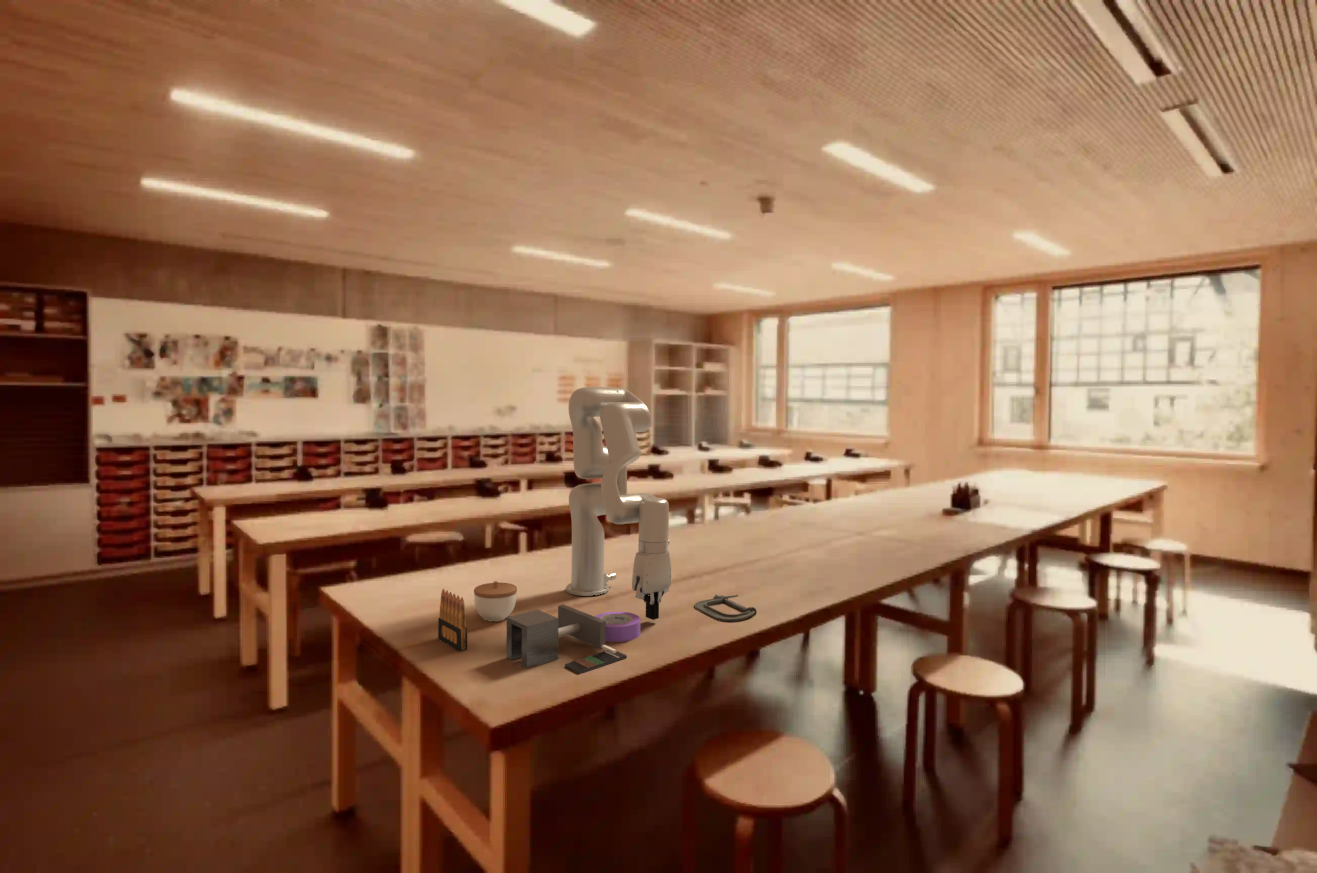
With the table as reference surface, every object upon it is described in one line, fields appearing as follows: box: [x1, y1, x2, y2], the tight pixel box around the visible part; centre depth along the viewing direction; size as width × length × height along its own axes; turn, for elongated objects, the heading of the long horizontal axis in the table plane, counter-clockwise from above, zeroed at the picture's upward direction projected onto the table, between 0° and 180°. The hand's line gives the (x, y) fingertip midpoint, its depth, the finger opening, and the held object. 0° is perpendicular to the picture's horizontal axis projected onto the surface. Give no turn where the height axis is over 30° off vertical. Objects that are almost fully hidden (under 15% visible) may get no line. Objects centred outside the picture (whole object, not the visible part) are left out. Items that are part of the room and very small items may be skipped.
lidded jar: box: [473, 580, 518, 622], centre depth 174 cm, size 11×11×9 cm
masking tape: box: [594, 611, 641, 643], centre depth 164 cm, size 12×12×4 cm
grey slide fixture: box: [505, 609, 628, 675], centre depth 148 cm, size 20×18×9 cm
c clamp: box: [693, 593, 758, 623], centre depth 185 cm, size 20×17×3 cm
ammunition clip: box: [437, 588, 468, 653], centre depth 155 cm, size 11×2×12 cm, turn 44°
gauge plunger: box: [557, 604, 617, 653], centre depth 150 cm, size 16×20×6 cm
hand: (652, 617), depth 173 cm, fingers closed
